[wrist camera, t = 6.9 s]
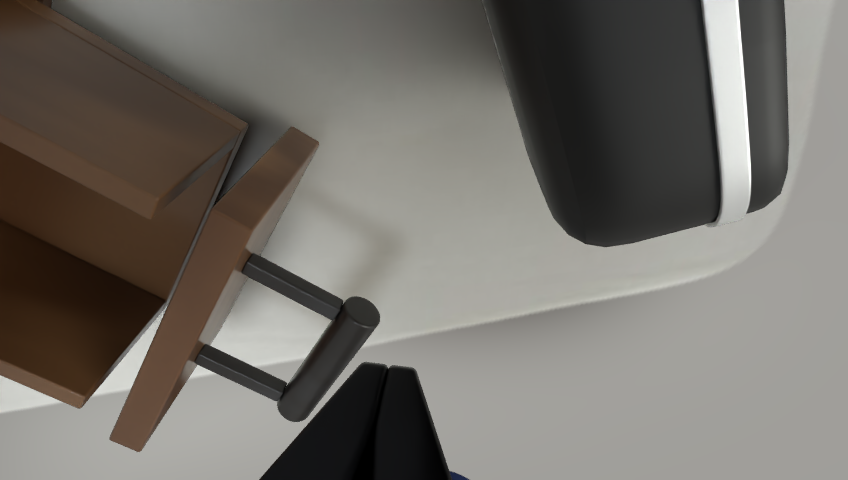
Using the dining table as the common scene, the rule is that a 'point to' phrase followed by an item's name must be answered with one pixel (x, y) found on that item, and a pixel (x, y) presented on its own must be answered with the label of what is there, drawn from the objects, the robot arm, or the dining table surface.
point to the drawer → (137, 228)
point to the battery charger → (648, 109)
